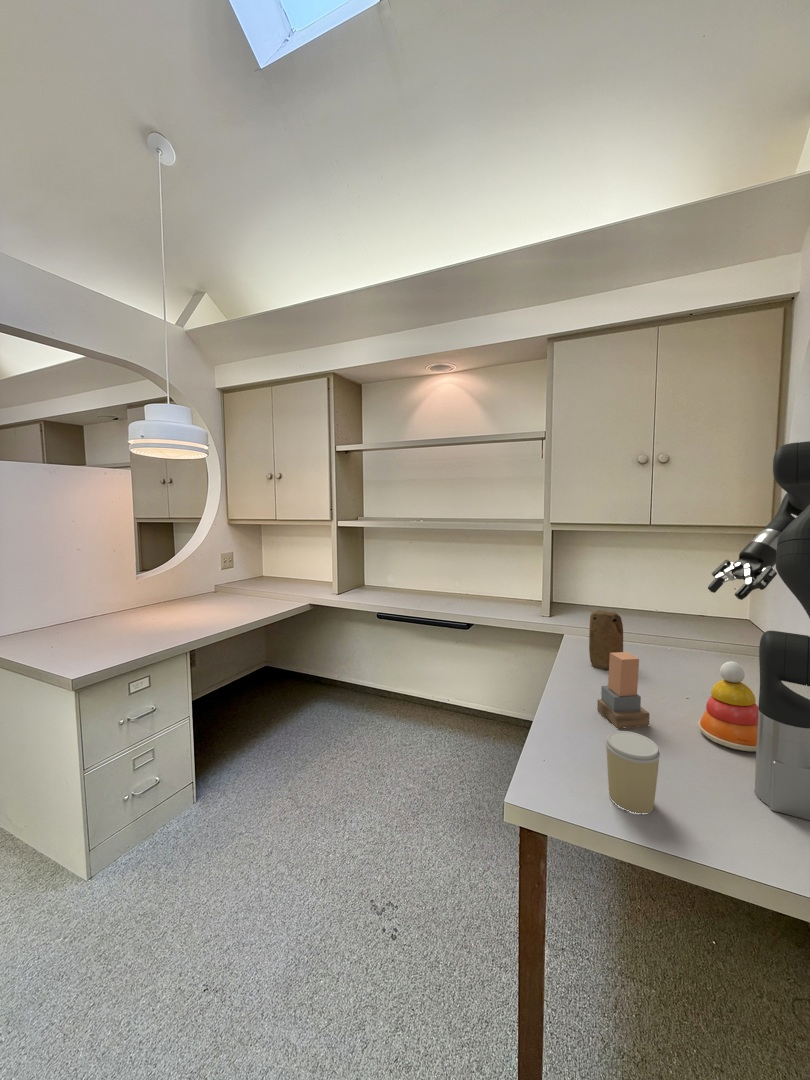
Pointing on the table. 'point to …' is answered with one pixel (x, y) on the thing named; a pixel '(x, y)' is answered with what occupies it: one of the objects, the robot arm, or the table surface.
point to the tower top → (620, 701)
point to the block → (604, 637)
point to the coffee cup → (632, 770)
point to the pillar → (623, 673)
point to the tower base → (623, 716)
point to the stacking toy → (731, 711)
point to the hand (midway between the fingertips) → (723, 593)
